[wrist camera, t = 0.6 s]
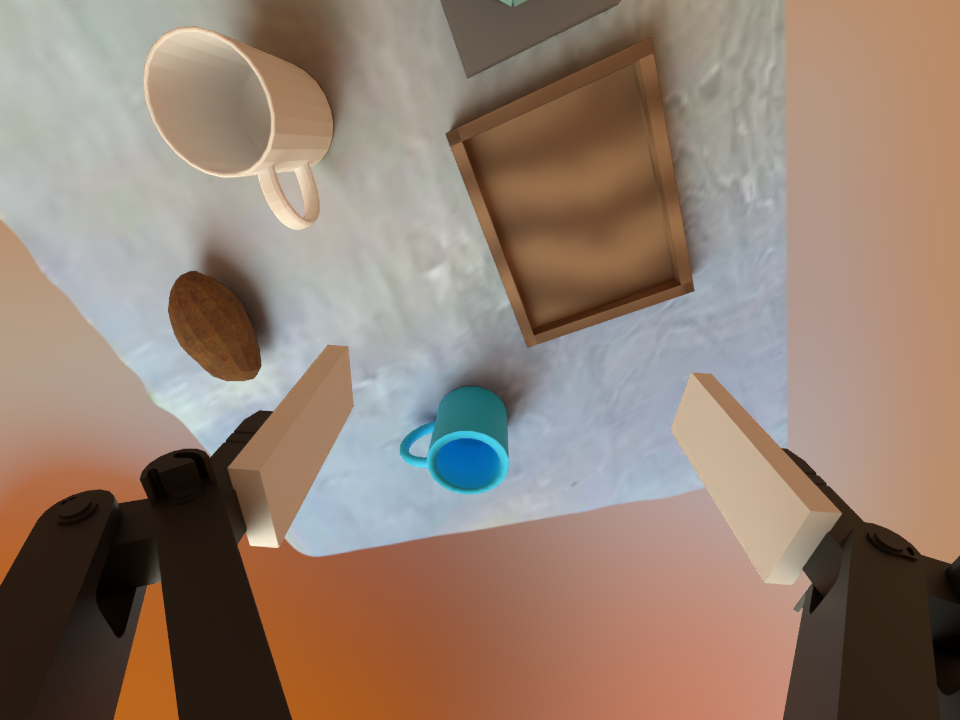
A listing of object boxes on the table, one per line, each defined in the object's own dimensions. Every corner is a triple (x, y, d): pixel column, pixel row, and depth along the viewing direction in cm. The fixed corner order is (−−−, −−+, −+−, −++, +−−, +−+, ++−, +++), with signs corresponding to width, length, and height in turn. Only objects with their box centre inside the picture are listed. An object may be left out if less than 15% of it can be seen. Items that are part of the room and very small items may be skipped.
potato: (239, 372, 46) (199, 406, 40) (173, 276, 41) (116, 299, 35) (291, 355, 45) (258, 389, 39) (230, 255, 40) (181, 275, 34)
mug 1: (220, 91, 34) (113, 68, 24) (298, 40, 32) (215, -5, 22) (306, 230, 38) (245, 256, 29) (378, 193, 37) (337, 209, 27)
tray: (448, 134, 34) (445, 133, 32) (639, 44, 31) (650, 37, 29) (525, 337, 43) (527, 347, 40) (683, 283, 39) (694, 291, 37)
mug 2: (500, 380, 45) (500, 424, 38) (512, 438, 49) (515, 489, 42) (397, 397, 47) (378, 443, 40) (416, 452, 50) (403, 503, 43)
